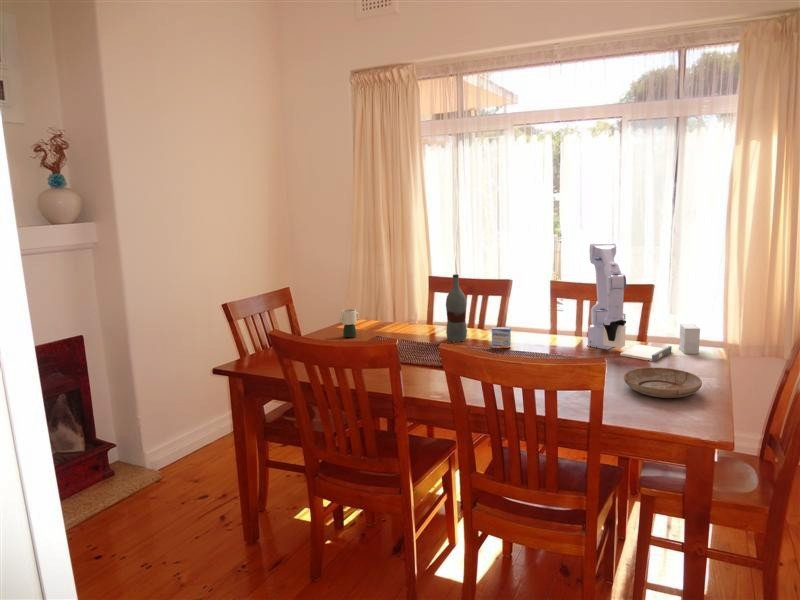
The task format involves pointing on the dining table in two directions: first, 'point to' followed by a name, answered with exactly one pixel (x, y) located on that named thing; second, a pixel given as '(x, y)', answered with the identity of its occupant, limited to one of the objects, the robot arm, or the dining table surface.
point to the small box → (689, 338)
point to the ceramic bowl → (663, 382)
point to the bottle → (456, 313)
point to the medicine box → (501, 336)
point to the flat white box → (646, 352)
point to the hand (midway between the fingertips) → (614, 339)
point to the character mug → (349, 321)
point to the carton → (616, 337)
